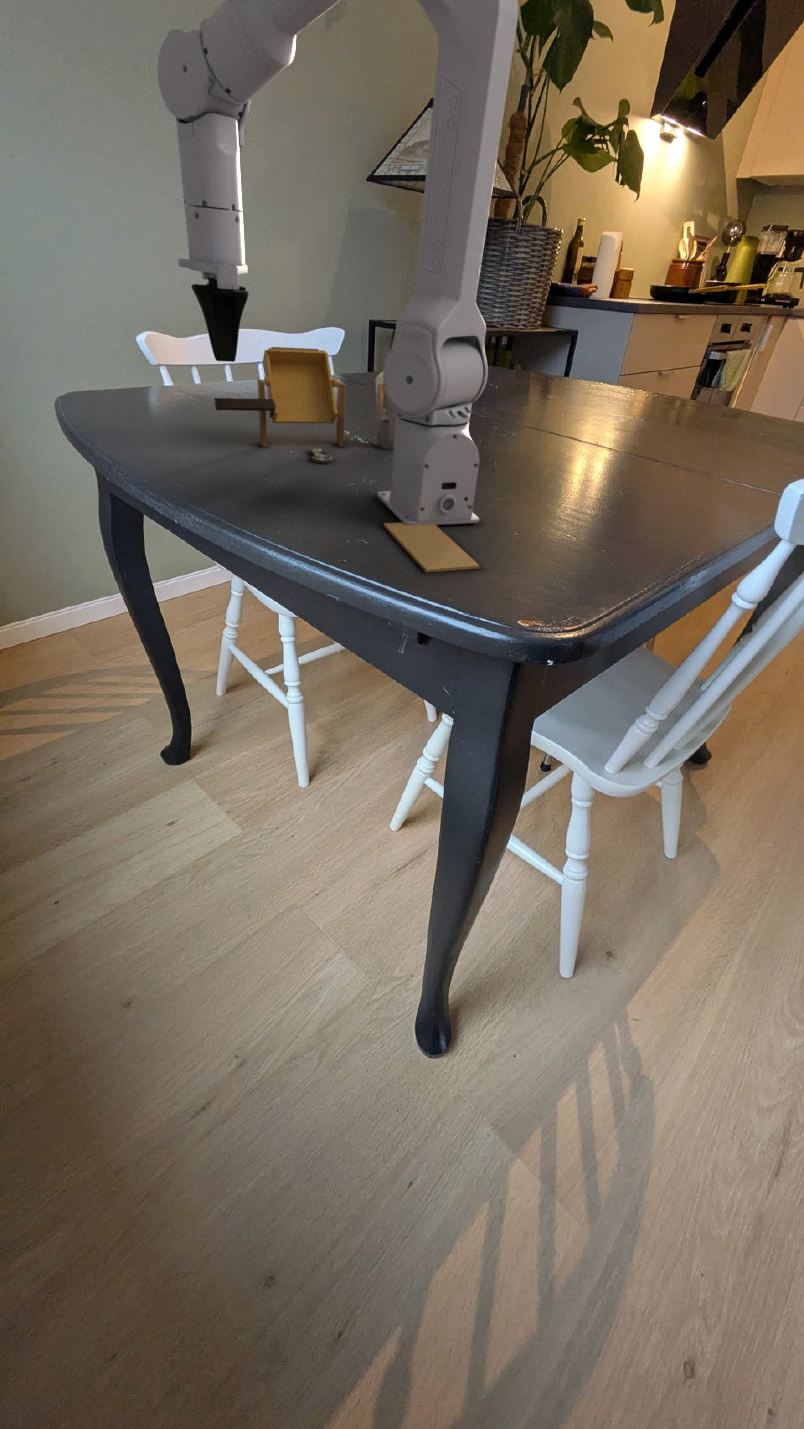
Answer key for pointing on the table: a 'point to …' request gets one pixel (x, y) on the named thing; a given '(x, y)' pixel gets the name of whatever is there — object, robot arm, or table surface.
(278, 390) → the tray
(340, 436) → the stand
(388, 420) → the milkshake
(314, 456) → the key
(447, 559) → the mat
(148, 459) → the table surface
